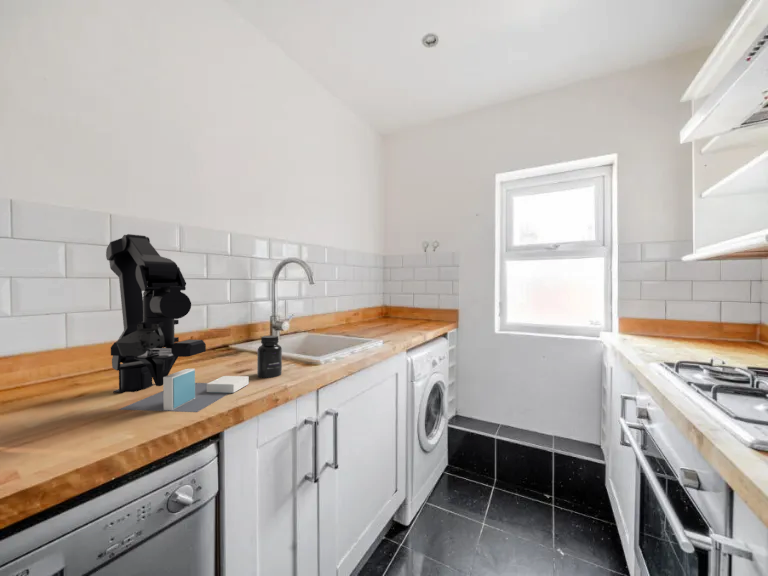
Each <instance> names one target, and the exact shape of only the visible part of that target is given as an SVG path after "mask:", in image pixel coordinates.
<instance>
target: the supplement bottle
mask: <svg viewBox="0 0 768 576" xmlns="http://www.w3.org/2000/svg"><path fill="white" fill-rule="evenodd" d="M260 339H261V341H260V344H261V345H260V346H258V348H257V353H256V354H257V359H256V360H257V361H256V363H257V378H259V379H273V378H277V377H280V376H281V375H282V374H283V373H282V372H283V371H282V369H283V367H282V365H283V364H282V359H283V358H282V357H283V355H282V354H283V352H282V351H283V349H282V345H280V344H278V343H279V335H265V336H261V338H260Z"/></svg>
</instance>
